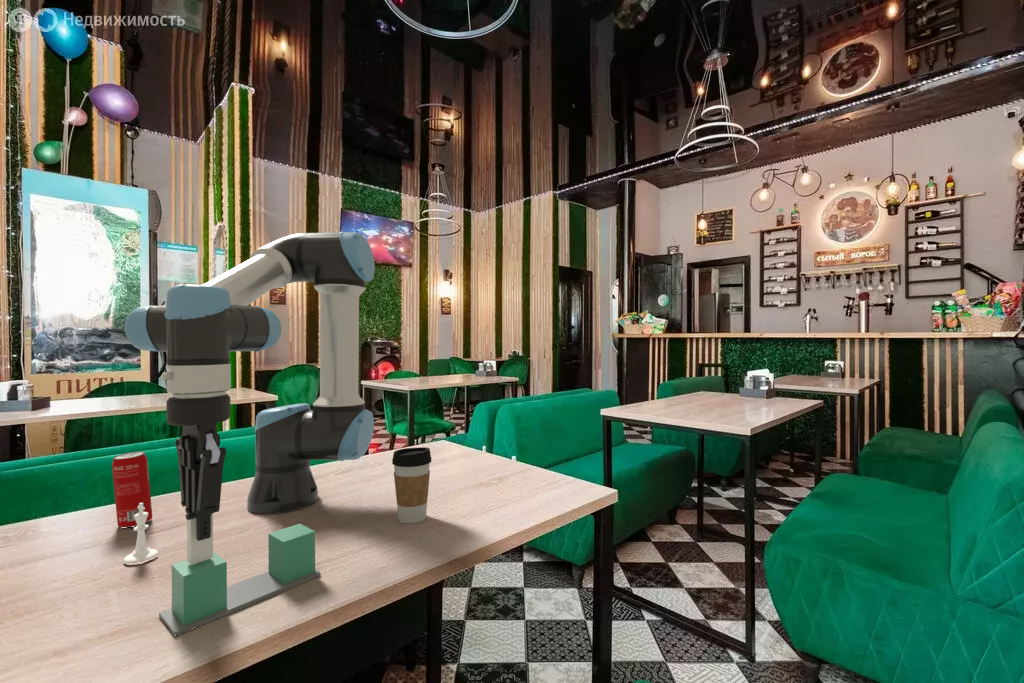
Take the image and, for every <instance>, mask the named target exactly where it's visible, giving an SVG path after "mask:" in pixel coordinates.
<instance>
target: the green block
mask: <svg viewBox="0 0 1024 683" xmlns="http://www.w3.org/2000/svg"><path fill="white" fill-rule="evenodd" d="M227 563H228V561H226V559H224V558H223V557H221V556H220V555H219V554H218V553H216V552H215V551H214V550H213V558H211V559H208V560H205V561H202V562H199V563H196V564H192V565H190V564H189V563H188V562H187V559H185V560H182V561H178V562H176V563H173V564H171V608H172V612H173V613H174V614H175V616H176V617H177V618H178V619H179V620H180V622H181V623H182V624H183V625H186V624H189V623H191V622H194V621H196V620H199V619H201V618H204V617H206V616H208V615H211V614H213V613H216V612H218V611H221V610H223V609H226V608H227V587H228V583H227V582H228V576H227V575H228V574H227V573H228V568H227V567H228V564H227Z"/></svg>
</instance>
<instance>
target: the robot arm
mask: <svg viewBox="0 0 1024 683" xmlns="http://www.w3.org/2000/svg"><path fill="white" fill-rule="evenodd" d="M375 265H376V264H375V258H374V254H373V251H372V248H371V245H370V244H369V242H368V240H367V239H366V237H365V236H364V235H362V234H361V233H359V232H354V231H353V232H352V231H351V232H350V231H349V232H348V231H343V230H342V231H334V232H333V231H332V232H300V233H299V232H298V233H293V234H289V235H286V236H284V237H281V238H278V239H276V240H274V241H272V242H269V243H267V244H264V245H263V246H261V247H259V248H257V249H256V250H254V251H253V252H252V253H251V255H250V256H249V259H247V260H245V261H243V262H242V263H240V264H237V266H233V267H232V268H231V269H228V270H226V271H225V272H224V273H221V274H219V275H218V276H216V277H214V278H212V279H210V280H208V281H207V282H205V283H203V284H177V285H173V286H172V287H170V288H169V289H168V290H167V292H166V293H167V294H166V303H165V304H163V305H162V304H161V305H155V304H154V305H153V304H152V305H148V306H140V307H136V308H135V309H133V310H131V311H130V313H129V314H128V315H127V316H126V320H125V322H124V334H125V336H126V338H127V340H128V342H129V343H130V345H132V346H133V347H134V348H136V349H138V350H140V351H147V352H158V353H165V352H166V360H165V361H166V372H163V373H162V374H161V379H163V380H166V392H167V393H168V394H169V395H172V396H170V397H169V398H168V399H167V400H166V423H167V424H168V425H170V426H175V427H176V426H177V427H182V430H181V433H182V434H181V435H180V436H179V438H177V439H175V443H174V444H175V447H176V452H177V461H178V464H177V465H178V473H179V487H180V488H179V490H180V499H181V500H180V503H181V507H183V508H184V507H185V509H184V510H185V513H186V514H185V520H186V521H187V524H186V526H187V528H186V529H187V530H186V531H187V534H186V535H187V541H186V544H187V548H186V549H187V550H186V551H187V559H186V560H187V562H188V563H189V564H190V565H192V564H196V563H199V562H202V561H205V560H208V559H211V558H213V551H214V514H215V513H218V512H220V509H221V508H220V507H221V506H220V505H221V498H222V497H221V495H222V494H221V493H222V483H223V472H224V463H225V459H226V457H227V456H226V455H227V448H226V447H224V446H223V447H220V445H221V437H220V436H221V435H220V434H219V433H218V427H217V425H218V423H222V422H226V421H228V420H229V419H230V418H231V396H230V395H229V394H228V393H227V392H229V391H230V390H231V389H232V378H231V377H232V374H231V373H232V370H231V368H232V367H231V366H232V365H231V352H256V353H257V352H260V351H265V350H267V349H270V348H272V347H274V346H276V344H277V343H278V342H279V340H280V338H281V335H282V324H281V321H280V318H279V317H278V315H277V314H276V313H275V312H273V311H272V310H270V309H268V308H264V307H260V306H259V305H253V306H252V303H253V302H255V301H257V300H259V299H260V298H261V297H263V296H264V295H266V294H267V293H268V292H269V291H271V290H273V289H279V288H284V287H286V286H287V285H288V284H292V283H300V282H301V283H303V282H304V283H307V282H308V283H309V282H310V283H313V288H314V290H315V291H316V292H318V294H319V295H320V331H319V332H320V338H319V339H320V345H319V347H320V350H319V351H320V355H319V356H320V357H319V359H320V360H319V361H320V362H319V396H318V398H317V399H316V400H315V401H314V402H313V403H312V409H311V406H310V403H303V402H302V403H295V404H287V405H282V406H277V407H272V408H267V409H263V410H261V411H259V412H258V413H257V415H256V417H255V427H254V432H255V434H254V435H255V440H254V441H255V474H254V479H253V481H252V484H251V486H250V490H249V493H248V495H247V501H246V502H247V503H246V506H247V508H246V509H247V510H248V511H249V512H251V513H255V514H260V515H261V514H263V515H269V514H271V515H272V514H273V515H274V514H281V513H288V512H292V511H296V510H301V509H304V508H307V507H309V506H310V505H313V504H314V503H315V502H317V501H318V499H319V495H318V494H319V490H318V489H319V488H318V486H317V483H316V480H315V478H314V475H313V473H312V470H311V460H312V461H314V460H315V461H317V460H322V461H340V462H344V461H351V460H352V461H354V460H355V461H356V460H358V459H360V458H362V457H363V456H364V455H365V454H366V452H367V451H368V449H369V448H370V445H371V442H372V439H373V436H374V431H375V430H374V428H375V427H374V426H375V418H374V414H373V412H372V411H371V410H369V409H366V401H365V400H364V399H363V398H362V397H360V395H359V368H360V367H359V365H360V364H359V356H360V354H359V352H360V351H359V349H360V348H359V344H360V343H359V342H360V338H359V337H360V336H359V334H360V333H359V332H360V329H359V328H360V326H359V325H360V324H359V321H360V318H359V317H360V296H361V295H362V294H363V293H364V292H366V283H369V282H370V281H373V279H374V277H375V276H374V275H375V271H376V266H375Z"/></svg>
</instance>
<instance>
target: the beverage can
mask: <svg viewBox="0 0 1024 683" xmlns="http://www.w3.org/2000/svg"><path fill="white" fill-rule="evenodd" d="M111 466H112V468H111V470H112V478H113V489H114V490H113V491H114V500H115V501H114V502H115V508H116V509H115V511H116V521H117V522H116V523H117V527H118V526H119V527H132V526H137V523H136V520H135V518H134V515H135V514H137V513H139V509H138V506H139V503H143V507H145V510H143V512H148V517H147V519H146V522H148V521H149V522H150V521H151V520H152V518H153V507H152V498H151V497H152V496H151V485H150V484H151V483H150V475H149V462H148V457H147V456H146V454H145V452H144V451H132V452H126V453H122V454H118V455H116V456H114V457H113V460H112V463H111ZM146 522H145V523H146ZM149 522H148V523H149ZM146 524H147V523H146ZM119 527H118V528H119Z"/></svg>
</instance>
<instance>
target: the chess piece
mask: <svg viewBox="0 0 1024 683" xmlns="http://www.w3.org/2000/svg"><path fill="white" fill-rule="evenodd" d="M138 509H139V513H137V514H135V515H134V518H135V520H136V523H137V525H138V526H136V527H133V531H134V532H137V534H136V542H135V549H134V550H133V551H132V552H131V553H130V554H128V555H126V556H125V557H124V558H123V562H125V563H137V562H143V561H145V560H148V559H151V558H153V557H155V556H156V555H157V554H159V551H158V549H156V548H154V549H153V548H150V547H148V543H147V536H146V531H145V530H147V529H148V528H149V524H145V522H146V519H147V517H148V512H143V510H145V507H143V503H139V506H138Z"/></svg>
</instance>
